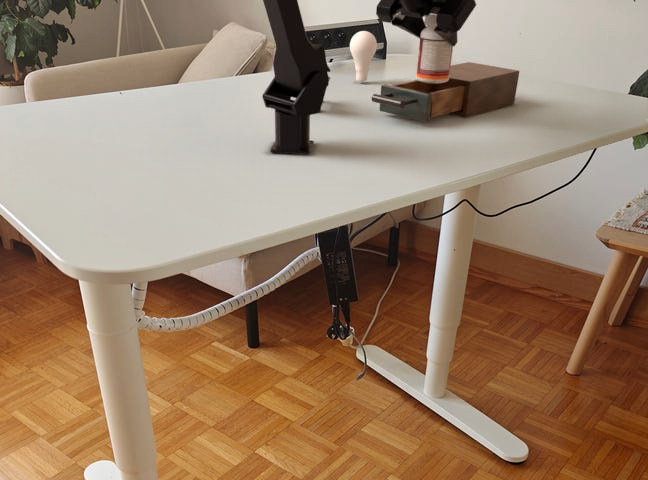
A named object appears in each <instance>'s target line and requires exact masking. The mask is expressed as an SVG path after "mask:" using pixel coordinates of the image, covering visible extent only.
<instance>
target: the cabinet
mask: <svg viewBox="0 0 648 480" xmlns="http://www.w3.org/2000/svg"><path fill="white" fill-rule="evenodd" d="M519 75H520V70H517V69H513V68H507V67H500V66H494V65H489V64H482V63H476V62H471V61H468V62H462V63H457V64H456V63H455V64H451V67H450V76H449V80H448V81H447V82H452V83H457V84H463V85H467V86H466V93H465V101H464V108H463V110H459V111H455V112H451V113H447V114H448V115H452V116H457V117H461V118H469V117H473V116H476V115H480V114H483V113H487V112H491V111H495V110H499V109H502V108H507V107H510V106H513V105H515V100H516V95H517V89H518V83H519V78H520V77H519Z"/></svg>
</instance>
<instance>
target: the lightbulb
mask: <svg viewBox="0 0 648 480" xmlns="http://www.w3.org/2000/svg"><path fill="white" fill-rule="evenodd" d="M377 48H378V42H377V38H376V37H375V35H374V34H373V33H371V32H370V31H367V30H360V31H358V32H356V33H355V34H354V35H353V36H352V37H351V39H350V41H349V50H350V53H351V56H352V58H353V61H354V68H355V78H356V81H357V82H358V83H360V84H364V83H365V82H367V81H368V73H369V70H370V65H371V61H372V60H373V58H374V56H375V54H376V52H377Z"/></svg>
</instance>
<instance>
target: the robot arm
mask: <svg viewBox="0 0 648 480" xmlns="http://www.w3.org/2000/svg"><path fill="white" fill-rule="evenodd" d="M262 2H263V6H264V8H265V12H266V16H267V18H268V22H269V27H270V30H271V33H272V36H273V39H274V43H275V52H274V57H273V61H272V66H273V72H274V73H273V74H274V77H273V79H272V80H271V81H270V83H269V85H268V86H267V87H266V89H265V90H264V92H263V93H262V100H263V103H264V107H265V108H267V109H271V110H274V142H273V143H272V146H271V147H270V148H269V149H270V150H269V152H270V153H274V154H275V153H277V154H294V155H295V154H296V155H299V154H300V155H310V154H311V152H312V150H313V147H314V145H315V141H314V140H311V136H310V135H311V116H312V115H316V114H320V112H321V111H322V106H323V102H324V99H325V95H326V91H327V89H328V88H327V87H328V86H329V82H330V80H329V78H328V76H329V73H330V72H331V68H330V67H329V64H328V63H327V57H326V50H325V48H324V45H319V44H315V43H311V42H310V40H309V38H308V36H307V32H306V28H305V24H304V21H303V17H302V12H301V9H300V5H299V1H298V0H262ZM476 6H477V3H476V0H380V1H379V2H378V3H377V5H376V11H375V15H376V17H377V18H378V20H379V21H380V22H381V23H387V24H388V23H389V24H391V25H392V26H393V27H397V28H399V29H401V30H403V31H405V32H406V33H408V34H410V35H412V36H414V37H416V38H418V39H420V35H421V32H422V30H423V29H425V28H426V27H427V25H425V24H424V22H425V19H424V18H425V17H428V16H429V15H430V13H432V14H437V17H436V23H437V26H436V28H435V29H434V31H435V32H436V33H437V34H438V35H439V36H441V37H442V38H443V39H444V40H445V41H446V42H448V43H449V44H450V45H452V46H453V47H456V45H457V44H458V32H459V31H461V30H462V28H463V26H464V25H465V24H466V22H467V20H468V18H469V17H470V16H471V14H472V13H473V11H474V10H475V8H476ZM291 98H293V99H291Z"/></svg>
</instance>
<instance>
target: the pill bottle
mask: <svg viewBox="0 0 648 480" xmlns="http://www.w3.org/2000/svg"><path fill="white" fill-rule="evenodd" d="M436 17H437V14H432V13H430V15H429V16H428V17H425V16H424V24H425V25H426V28H425V29H423V30H422V32H421V35H420V38H419V46H418V47H419V48H418V55H417V56H418V57H417V58H418V59H417V64H416V65H417V66H416V77H415V78H416V80H418V81H420V82H425V83H433V84H435V83H445V82H447V81H448V80H449V76H450V67H451V65H452V58H453V50H454V46H452V45H450V44H449V43H448V42H446V41H445V40H444V39H443V38H442V37H441V36H439V35H438V34H437V33H436V32H435V31H434V29H435V28H436V26H437V23H436Z"/></svg>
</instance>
